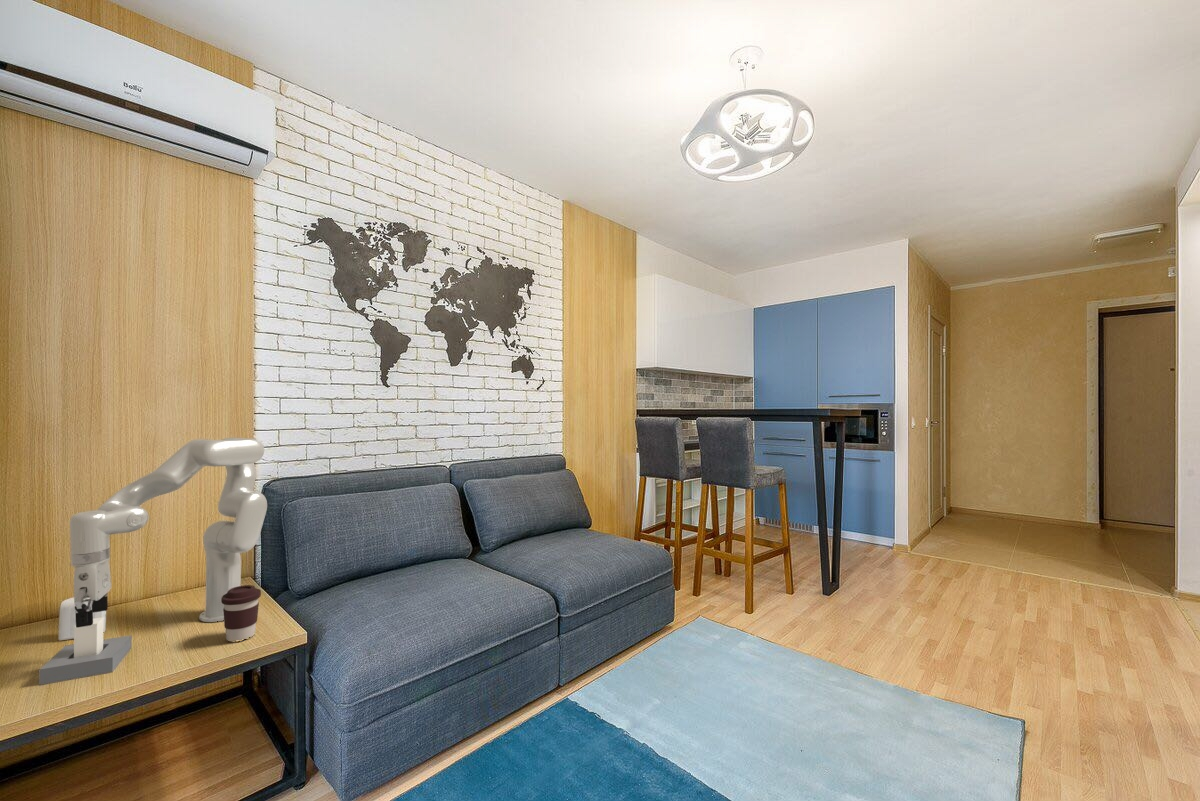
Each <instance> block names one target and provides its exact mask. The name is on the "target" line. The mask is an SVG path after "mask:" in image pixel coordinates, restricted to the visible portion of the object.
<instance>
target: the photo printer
mask: <svg viewBox="0 0 1200 801" xmlns="http://www.w3.org/2000/svg"><path fill="white" fill-rule="evenodd" d="M88 599H90V598H88ZM83 600H85V599H83ZM83 604H86V606H87V605H88V603H83ZM91 610H92V607H91ZM58 616H59V617H58V618H59V619H58V641H65V640H66V641H67V640H71V639H72V640H74V627H75V626H76V613H75V603H74V596H73V597H70V598H66V599H64V600H63V601H61V604H60V606H59V615H58ZM102 617H104V627H103V632H104V633H105V632H106V625H107V624H106V623H107V610H106V611H101V612H94V613H93V619H95V618H102Z"/></svg>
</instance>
